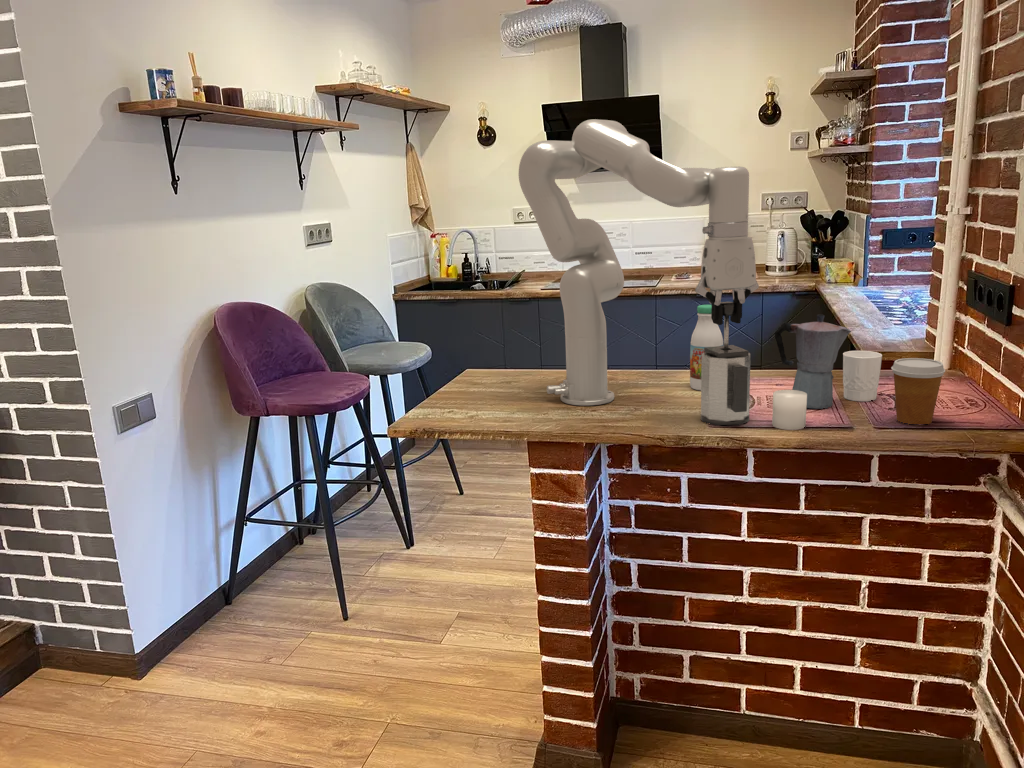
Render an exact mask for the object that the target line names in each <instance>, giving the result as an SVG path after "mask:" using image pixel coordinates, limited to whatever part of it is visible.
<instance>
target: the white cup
mask: <svg viewBox="0 0 1024 768" xmlns="http://www.w3.org/2000/svg"><path fill="white" fill-rule="evenodd" d="M882 359H883V354H882V353H879V352H876V351H872V350H871V351H870V350H849V351H844V352H843V353H842V385H843V398H844V399H846V400H849V401H854V402H872V401H871V400H873V401H876V400H877V394H878V388H879V383H880V376H881V368H882V361H883V360H882Z"/></svg>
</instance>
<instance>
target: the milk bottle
mask: <svg viewBox="0 0 1024 768" xmlns="http://www.w3.org/2000/svg"><path fill="white" fill-rule="evenodd" d="M711 308H712V304H701V305H700V304H699V305H698V306H697V308H696V311H697V314H696V315H697V316H698V317H697V321H696V325H695V328H694V330H693V331H692V333H691V338H690V347H689V348H690V349H689V350H690V352H689V353H690V354H689V361H690V362H689V363H690V364H689V386H690V388H691V389H693V390H697V391H701V367H702V354H703V353H705V352H704V347H715V346H724V336H723V334H722V332H721V329H720V327H719V326H720V325H717V324H714V323H713V320H712V318H711Z"/></svg>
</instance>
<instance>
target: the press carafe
mask: <svg viewBox="0 0 1024 768" xmlns="http://www.w3.org/2000/svg"><path fill="white" fill-rule="evenodd" d="M704 352H705V353H703V354H702V367H701V390H700V391H701V393H700V395H701V397H700V420H702V421H701V422H703V423H704V422H706V423H705V424H707V423H710V424H709V425H711V424H715V425H714V426H716V425H738V426H740V425H739V424H743V423H746V422H748V421H749V422H750V394H751V393H750V392H751V391H750V389H751V388H750V387H751V355H752V354H751V353H750V352H749V350H747V349H744V348H742V347H739V346H736V345H735V344H730V345H729V344H728V350H724V345H723V346H715V347H704ZM749 422H748V423H749ZM746 424H747V423H746ZM743 425H744V424H743Z"/></svg>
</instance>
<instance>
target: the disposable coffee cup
mask: <svg viewBox="0 0 1024 768" xmlns="http://www.w3.org/2000/svg"><path fill="white" fill-rule="evenodd" d="M890 369H891V370H892V373H893V382H894V383H893V384H894V399H895V412H896V413H895V414H896V421H897V420H898V421H897V422H899V421H900V422H899V423H901V422H903V423H902V424H904V423H908V424H907V425H909V424H928V425H931V424H932V422H933V419H934V413H935V408H936V404H937V400H938V395H939V390H940V387H941V384H942V383H941V381H942V378H943V376H944V374H945V373H946V368H944V363H943V362H942V361H939V360H937V359H936V360H935V359H930V358H922V357H921V358H920V357H919V358H918V357H909V358H908V357H907V358H905V357H904V358H899V359H896V360H894V362H893V365H892V366H891V367H890Z"/></svg>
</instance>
